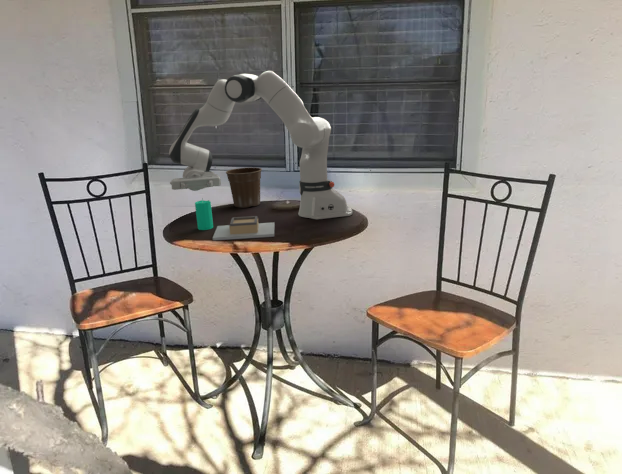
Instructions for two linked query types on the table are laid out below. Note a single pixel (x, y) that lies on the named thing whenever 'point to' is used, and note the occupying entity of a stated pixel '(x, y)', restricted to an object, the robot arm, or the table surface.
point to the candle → (204, 215)
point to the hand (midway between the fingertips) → (197, 185)
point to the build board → (262, 232)
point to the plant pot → (245, 186)
